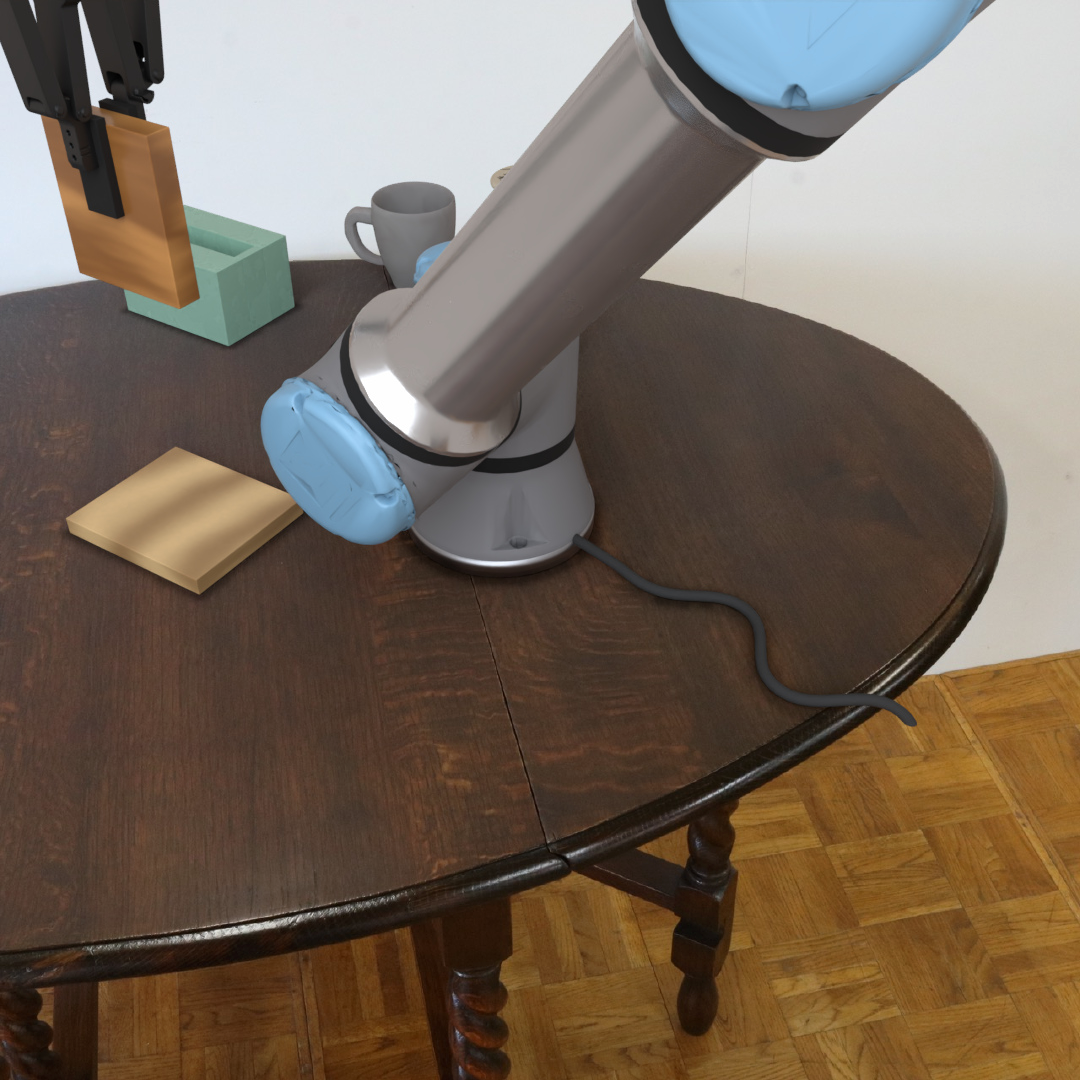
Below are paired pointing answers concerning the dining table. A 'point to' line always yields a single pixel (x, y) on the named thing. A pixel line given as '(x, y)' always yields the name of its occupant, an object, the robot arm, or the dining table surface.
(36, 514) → the dining table surface
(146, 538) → the board
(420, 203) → the mug
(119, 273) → the toast
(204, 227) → the toaster
